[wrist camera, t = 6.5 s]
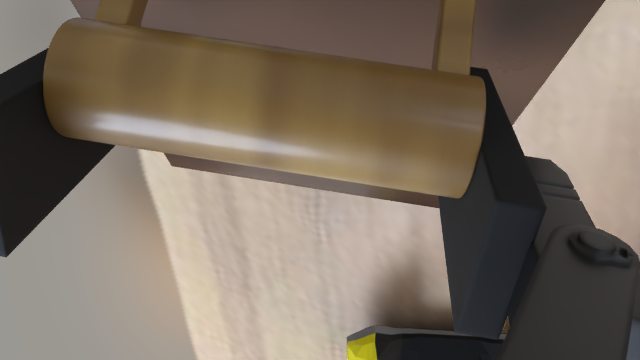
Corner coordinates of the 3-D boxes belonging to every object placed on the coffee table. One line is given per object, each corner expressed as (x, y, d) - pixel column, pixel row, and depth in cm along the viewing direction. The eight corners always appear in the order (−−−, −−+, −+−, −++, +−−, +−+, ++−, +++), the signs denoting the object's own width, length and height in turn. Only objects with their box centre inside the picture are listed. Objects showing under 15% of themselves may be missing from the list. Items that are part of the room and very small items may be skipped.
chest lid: (-43, -237, 11) (-195, 37, 9) (686, -143, 11) (711, 175, 9) (175, 151, 30) (142, 275, 27) (451, 195, 29) (439, 324, 27)
